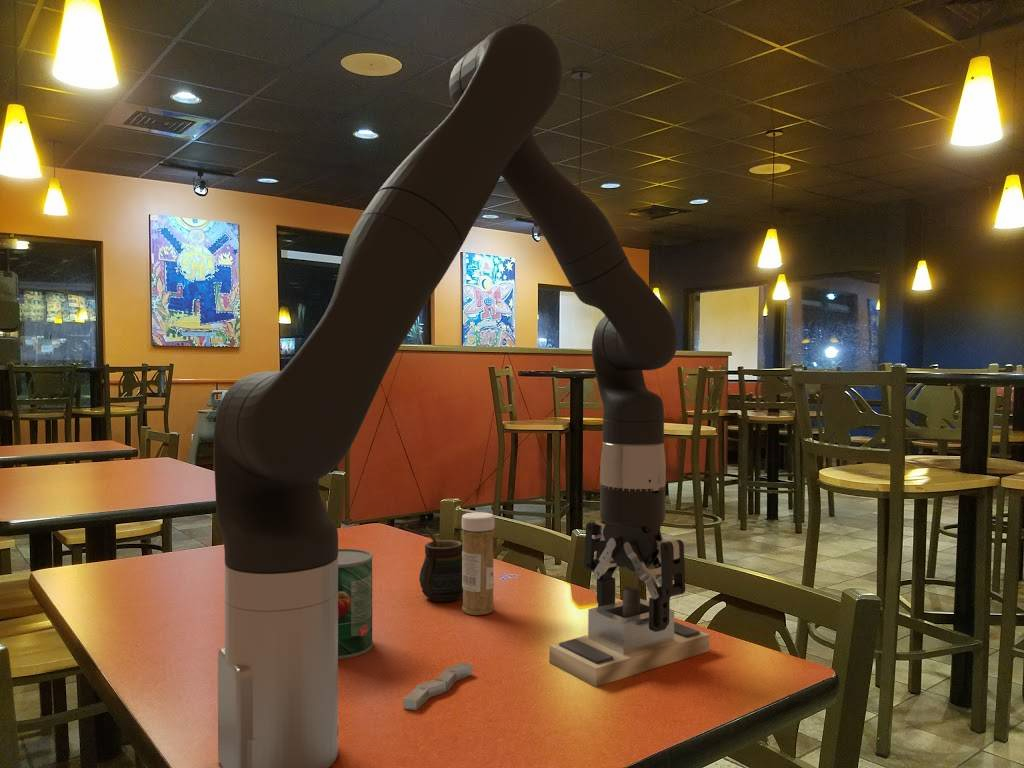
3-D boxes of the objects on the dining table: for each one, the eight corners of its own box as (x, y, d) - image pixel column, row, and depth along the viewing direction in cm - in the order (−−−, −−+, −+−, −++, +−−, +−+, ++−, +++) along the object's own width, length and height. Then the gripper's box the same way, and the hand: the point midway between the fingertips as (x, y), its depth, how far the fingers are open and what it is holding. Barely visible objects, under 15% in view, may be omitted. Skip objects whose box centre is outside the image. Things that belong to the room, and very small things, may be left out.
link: (623, 655, 83) (623, 623, 82) (588, 638, 87) (588, 609, 87) (673, 640, 87) (674, 610, 87) (637, 625, 92) (637, 597, 92)
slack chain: (414, 711, 73) (414, 701, 73) (396, 706, 74) (396, 696, 74) (475, 674, 82) (475, 665, 82) (459, 669, 83) (459, 660, 83)
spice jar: (500, 612, 103) (500, 515, 103) (471, 618, 100) (472, 518, 100) (483, 603, 107) (483, 510, 106) (455, 609, 104) (455, 513, 104)
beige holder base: (595, 687, 79) (596, 611, 79) (549, 662, 85) (549, 593, 85) (709, 651, 89) (710, 584, 89) (660, 631, 96) (660, 569, 96)
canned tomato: (378, 635, 94) (379, 548, 93) (364, 660, 86) (365, 565, 86) (316, 634, 94) (316, 547, 94) (296, 659, 86) (296, 564, 86)
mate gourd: (448, 608, 104) (447, 537, 104) (407, 600, 109) (406, 531, 108) (478, 595, 110) (477, 528, 110) (439, 587, 115) (438, 523, 114)
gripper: (568, 476, 91) (567, 608, 91) (654, 492, 79) (652, 644, 79) (614, 471, 95) (613, 598, 95) (702, 486, 83) (700, 630, 84)
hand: (631, 619), depth 87 cm, fingers open, 8 cm apart
